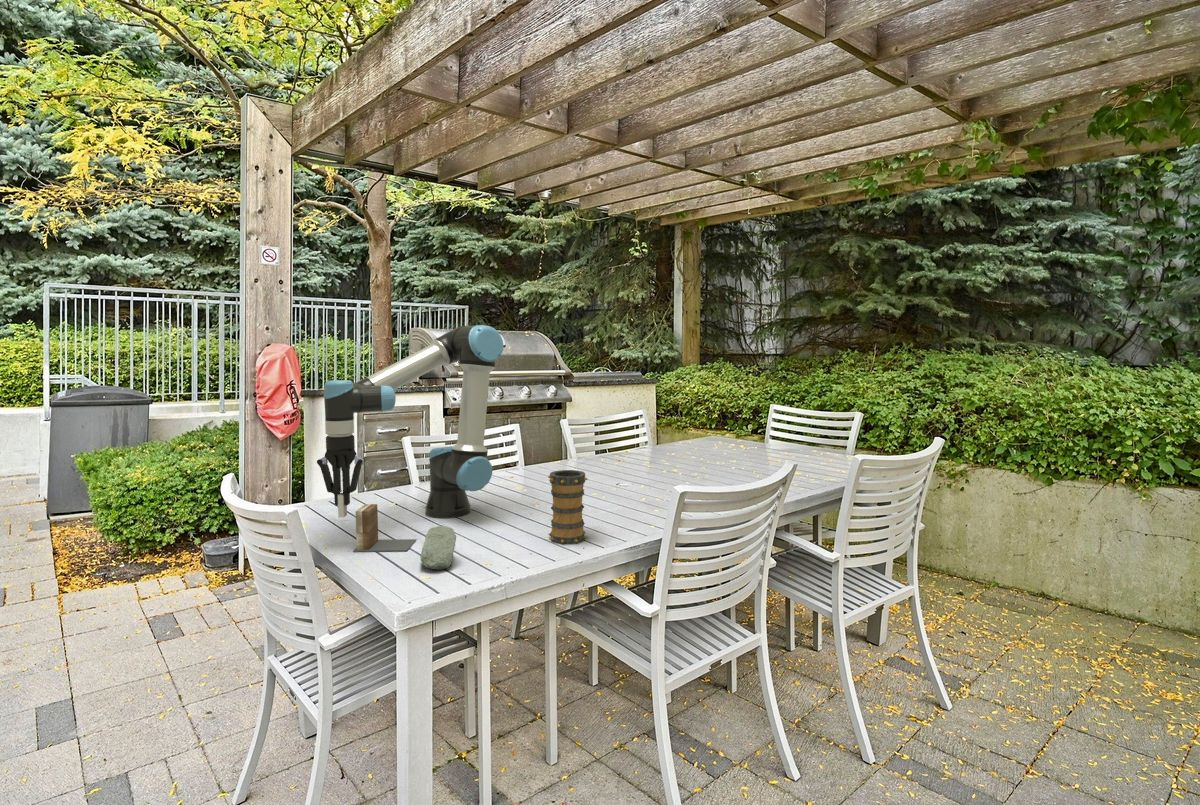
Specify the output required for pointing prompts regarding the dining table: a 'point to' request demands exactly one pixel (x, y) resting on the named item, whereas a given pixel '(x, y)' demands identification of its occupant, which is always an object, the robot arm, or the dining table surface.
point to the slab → (366, 526)
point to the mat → (390, 546)
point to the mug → (567, 506)
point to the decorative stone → (438, 547)
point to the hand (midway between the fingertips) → (342, 516)
